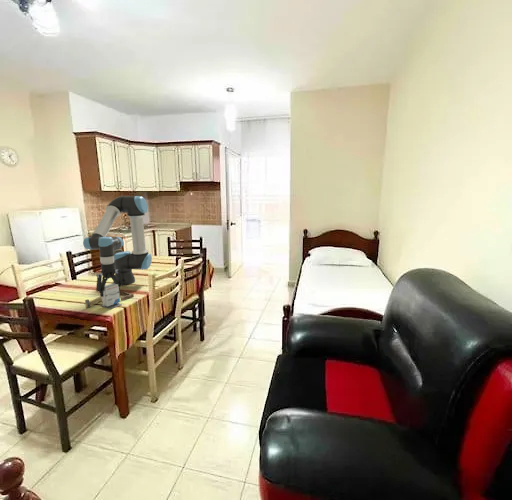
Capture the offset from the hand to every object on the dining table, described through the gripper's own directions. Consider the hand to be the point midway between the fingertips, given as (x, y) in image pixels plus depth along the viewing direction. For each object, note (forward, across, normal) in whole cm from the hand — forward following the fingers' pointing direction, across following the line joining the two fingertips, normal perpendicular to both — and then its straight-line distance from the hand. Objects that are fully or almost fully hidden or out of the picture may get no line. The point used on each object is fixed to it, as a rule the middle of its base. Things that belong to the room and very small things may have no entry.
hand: (110, 298), depth 185 cm
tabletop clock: (+4, -54, -73) cm, 91 cm away
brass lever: (+4, +1, -11) cm, 12 cm away
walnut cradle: (+4, -11, -8) cm, 14 cm away
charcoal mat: (+4, 0, 0) cm, 4 cm away
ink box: (+3, 0, 0) cm, 3 cm away
